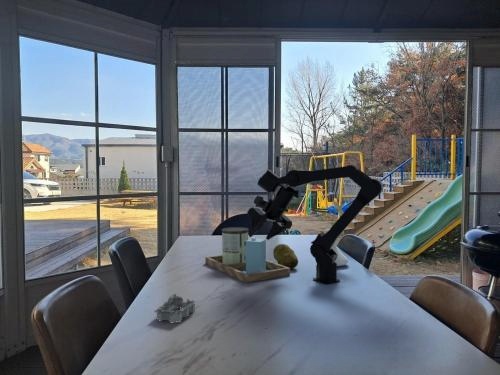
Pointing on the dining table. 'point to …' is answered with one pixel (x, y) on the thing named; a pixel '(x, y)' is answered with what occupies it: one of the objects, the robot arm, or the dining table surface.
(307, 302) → the dining table surface
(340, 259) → the flower in vase
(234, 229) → the coffee can
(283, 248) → the potato
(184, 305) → the egg carton
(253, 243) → the milk carton
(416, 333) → the dining table surface
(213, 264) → the light wood flat frame
